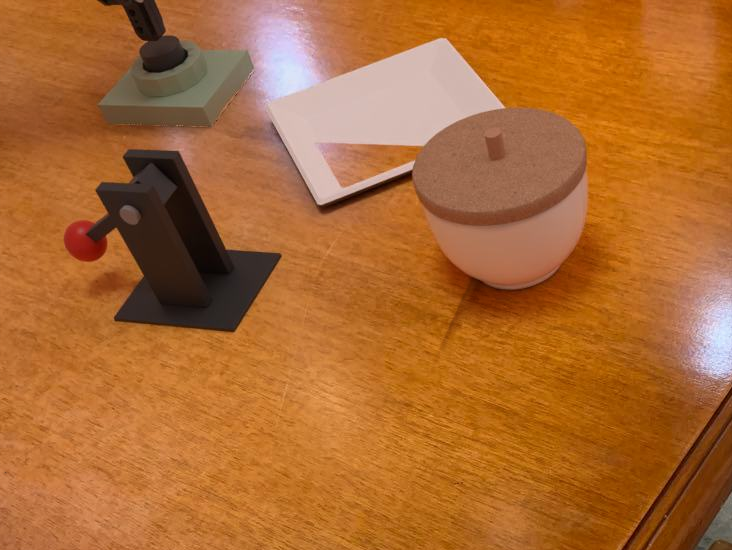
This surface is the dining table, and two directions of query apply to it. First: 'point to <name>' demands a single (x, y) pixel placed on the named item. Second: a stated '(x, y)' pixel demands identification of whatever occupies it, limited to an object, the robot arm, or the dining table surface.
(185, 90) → the green button base
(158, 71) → the power button
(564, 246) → the lidded bowl
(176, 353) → the dining table surface
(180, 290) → the lever stand
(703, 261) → the dining table surface
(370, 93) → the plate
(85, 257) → the red knobbed lever
